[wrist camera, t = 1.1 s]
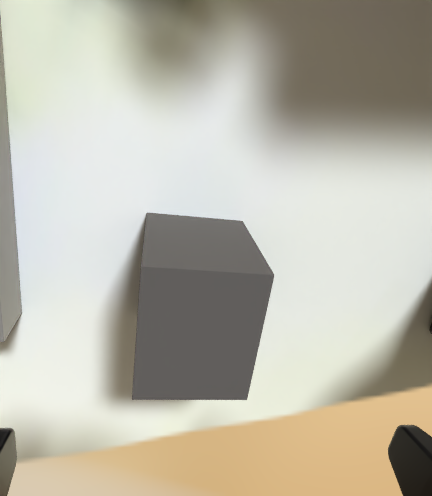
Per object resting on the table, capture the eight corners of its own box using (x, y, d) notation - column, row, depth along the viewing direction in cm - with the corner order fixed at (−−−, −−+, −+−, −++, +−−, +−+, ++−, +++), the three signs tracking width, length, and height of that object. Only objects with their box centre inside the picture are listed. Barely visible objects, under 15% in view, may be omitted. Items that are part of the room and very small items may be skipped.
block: (245, 221, 16) (278, 275, 11) (228, 319, 18) (251, 399, 13) (146, 212, 15) (140, 266, 11) (139, 316, 17) (132, 399, 13)
